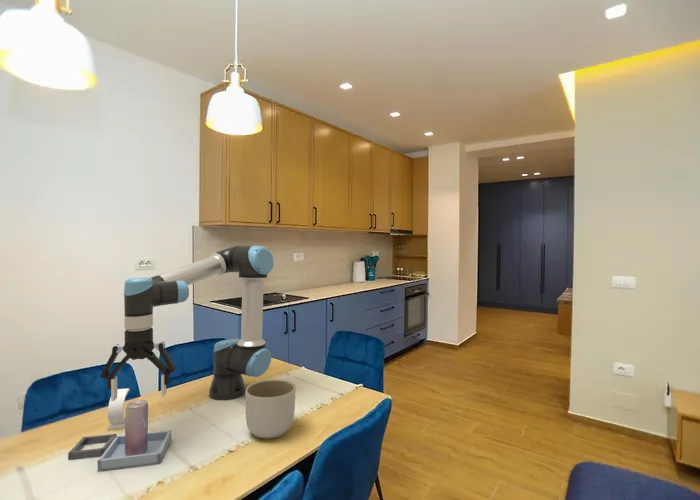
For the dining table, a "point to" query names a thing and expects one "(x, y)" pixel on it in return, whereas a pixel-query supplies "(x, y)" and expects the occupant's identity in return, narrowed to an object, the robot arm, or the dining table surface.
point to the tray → (119, 460)
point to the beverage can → (136, 427)
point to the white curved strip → (117, 410)
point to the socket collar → (79, 454)
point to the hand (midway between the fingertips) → (139, 397)
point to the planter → (270, 407)
